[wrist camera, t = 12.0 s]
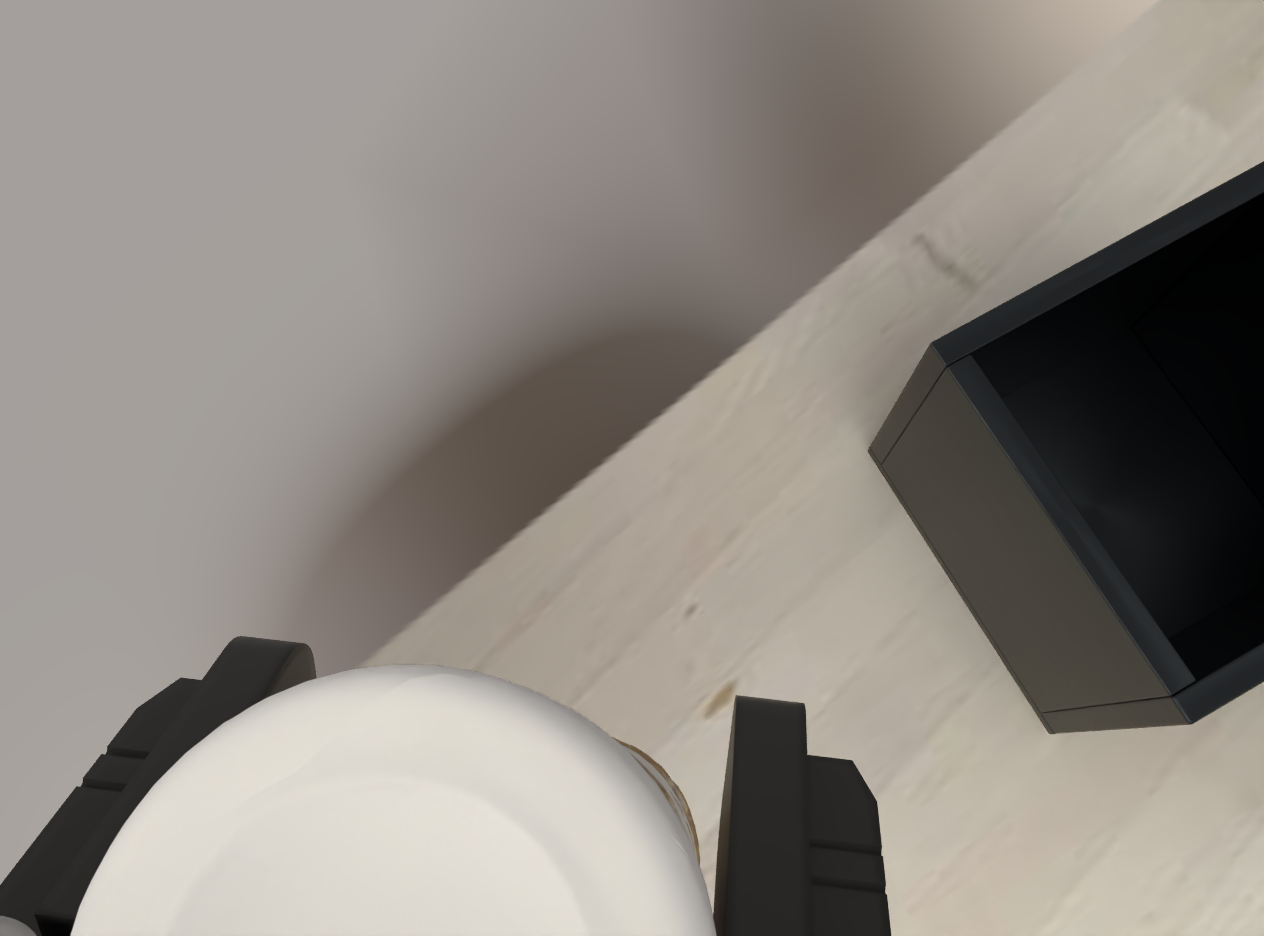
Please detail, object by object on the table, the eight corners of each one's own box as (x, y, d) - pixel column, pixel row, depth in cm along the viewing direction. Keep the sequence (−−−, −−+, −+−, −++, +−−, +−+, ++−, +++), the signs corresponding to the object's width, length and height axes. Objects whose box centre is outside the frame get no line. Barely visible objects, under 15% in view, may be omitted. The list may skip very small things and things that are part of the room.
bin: (866, 450, 39) (929, 343, 29) (1129, 305, 40) (1279, 152, 30) (1049, 734, 36) (1190, 725, 26) (1328, 570, 37) (1570, 499, 27)
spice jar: (692, 1000, 19) (704, 1502, 6) (442, 975, 19) (-61, 1400, 6) (707, 736, 20) (743, 681, 7) (472, 718, 20) (101, 632, 8)
